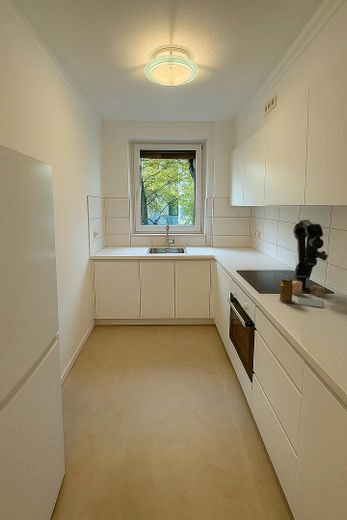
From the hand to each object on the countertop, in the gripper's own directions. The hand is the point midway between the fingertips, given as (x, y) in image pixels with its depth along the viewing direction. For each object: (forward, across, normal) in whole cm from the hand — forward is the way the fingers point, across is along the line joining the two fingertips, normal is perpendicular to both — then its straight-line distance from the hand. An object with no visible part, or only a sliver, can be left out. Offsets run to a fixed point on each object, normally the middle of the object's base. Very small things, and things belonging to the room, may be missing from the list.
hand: (309, 273), depth 174 cm
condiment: (+13, -18, +10) cm, 24 cm away
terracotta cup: (+12, 0, +6) cm, 14 cm away
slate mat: (+12, -16, -1) cm, 20 cm away
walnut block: (+12, +2, -5) cm, 13 cm away
